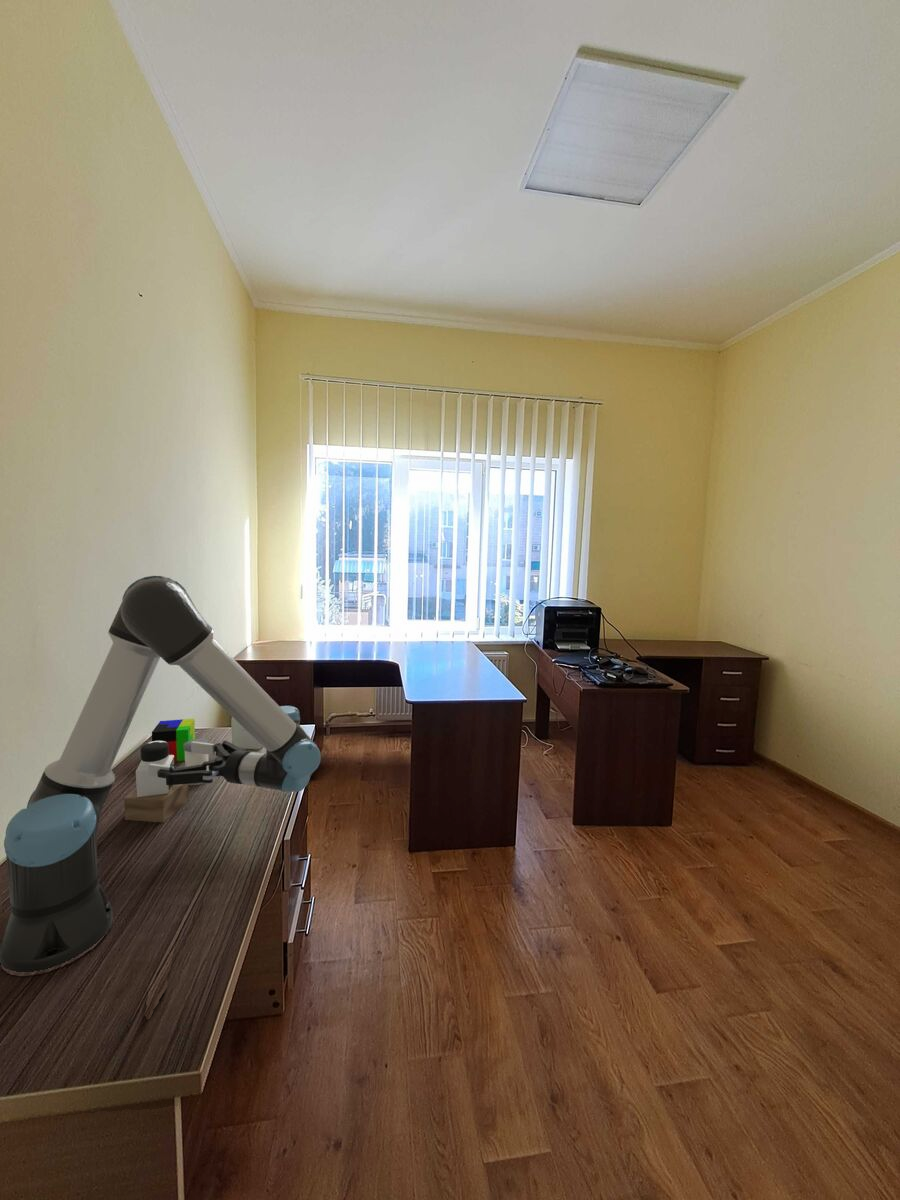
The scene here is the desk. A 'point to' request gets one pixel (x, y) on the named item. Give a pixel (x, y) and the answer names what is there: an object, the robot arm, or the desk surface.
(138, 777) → the medicine bottle
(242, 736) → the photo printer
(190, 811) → the desk surface
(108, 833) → the desk surface
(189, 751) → the plastic jar
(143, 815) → the walnut block
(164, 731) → the puzzle toy
